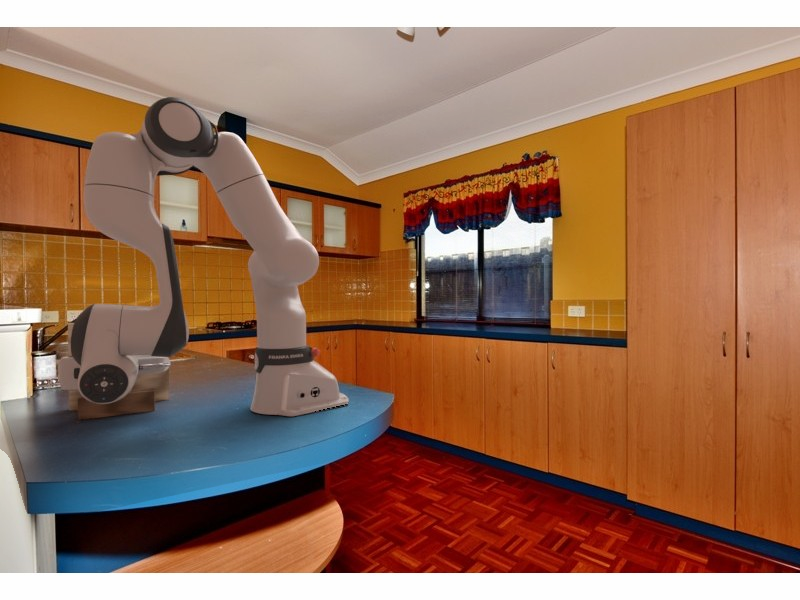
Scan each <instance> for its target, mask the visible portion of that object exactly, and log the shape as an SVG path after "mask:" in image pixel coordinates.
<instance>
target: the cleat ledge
mask: <svg viewBox="0 0 800 600" xmlns="http://www.w3.org/2000/svg"><path fill="white" fill-rule="evenodd" d="M155 410H156V401H155V389H151V390H141V391H131V392H130V393H128V394H127V395H126V396H125V397H123V398H122V399H120V400H118V401H115V402H112V403H109V404H97V403H93V402H90V401H88V400H86V399H85V398H84V397H82V398H78V410H77V420H78V421H82V420H81V419H83V420H90V418H91V419H97V418H105V417H107V418H108V417H115V416H120V415H121V416H122V415H123V416H124V415H130V414H131V415H132V414H138V413H146V412H147V413H148V412H154V411H155Z"/></svg>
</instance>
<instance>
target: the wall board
mask: <svg viewBox="0 0 800 600" xmlns="http://www.w3.org/2000/svg"><path fill="white" fill-rule="evenodd" d="M74 323H75V322H69V323H67V342H68V343H67V345H68V346H67V349H68V351H67V353H68V356H72V354H71V335H72V329H73V326H74ZM151 389H155V402H159V401H168V400H170V367H169V368H168V369H167V370H166V371H164V372H160V373H151V374H139V375H137V378H136V381H135V384H134V386H133V388H132V390H131V391H141V390H151ZM82 397H83V396H82V395H81V394H80V392H79V390H68V410H69V412H70V411H78V398H82Z"/></svg>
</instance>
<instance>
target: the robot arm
mask: <svg viewBox="0 0 800 600" xmlns="http://www.w3.org/2000/svg"><path fill="white" fill-rule="evenodd" d="M193 167H194V168H197V169H198V170H200V171H201V172H202V173H203V174H204V175H205V176H206V178H207V179H208V180H209V182H210V183H211V185H212V188H213V190H214V192H215V194H216V196H217V198H218V200H219V201H220V203H221V205H222V207H223V209H224V211H225V213H226V214H227V216H228V218H229V220H230V222H231V225H232V226H233V227H234V229H236V231H238V232H239V233H240V234H241V236H242V237H243V238H244V240H246V241H247V243H248V245H249V246H250V247H251V249H253V252H252V253H251V254H250V257H249V259H248V262H247V269H248V273H249V276H250V279H251V280H250V281H251V287H252V294H253V298H254V304H255V312H256V339H257V341H256V342H257V343H256V347H255V351H254V352H255V353H254V369H255V372H256V376H255V377H256V378H255V384H254V385H255V386H254V390H253V391H254V392H253V396H252V402H251V404H250V407H249V408H250V411H251V412H253V413H256V414H262V415H275V416H277V415H278V416H283V417H284V416H285V417H295V416H302V415H305V414H312V413H316V412H320V411H319V410H321V411H324V410H323V409H325V410H328V409H327V408H330V409H332V408H331V407H335V408H337V407H336V406H340V405H344V406H346V405H345V404H348V405H349V403H348V402H350V400H349V398H348V396H347V395H345V394H344V393H343V392H340V388H339V384H338V383H339V382H338V379H337V378H336V376H335V375H334V374H333V373H332V372H330V371H329V370H327V369H326V368H325V367H323V365H321V364H319V363H318V362H317V361H315V360H314V359H315V358H318V357H320V355H321V353H322V351H321V349H320V348H319V347H318V348H317V347H311V346H309V345H307V314H306V311H305V308H304V306H303V303H302V300H301V297H300V292H299V288H298V287H299V286H300V285H303V284H304V283H306V282H308V281H309V280H311V279H312V278H313V277H314V276H315V275H316V274H317V272H318V268H319V266H320V258H319V257H320V256H319V253H318V250H317V249H316V248H315V246H314V245H313V244H312V243H311V242H310V241H308V240H307V239H306V238H304V237H303V235H301V233H300V232H299V230H298V229H297V228H296V226H295V225H294V223H292V222H291V220H290V219H289V217H288V216H287V214H286V212H284V210H283V208H282V207H281V205H280V204H279V202H278V200H277V198H276V195H275V194H274V192H273V190H272V188H271V186H270V184H269V182H268V179H267V178H266V176H265V173H264V172H263V170H262V169H261V168H262V167H261V165H259V163H258V161H257V159H256V158H255V156H254V154H253V153H252V151H251V150H250V149H249V147H248V146H247V144H246V143H245V141H244V140H243V139H242V137H240V136H239V135H238V134H236V133H234V132H229V131H218V129H217V126H216V125H215V124H214V123H213V122H212V121H210V119H208V118H207V117H206V116H205V115H204V114H203V113H202V111H201V110H200V109H199V108H197V107H196V105H194V104H193V103H191V102H189V101H188V100H186V99H183V98H181V97H176V96H168V97H167V96H166V97H163V98H160V99H158V100H156V101H155V102H154V103H152V104H151V105H150V106H149V108H148V109H147V111H146V113H145V116H144V119H143V122H142V124H141V129H140V131H138V132H137V133H133V134H132V133H131V134H127V133H124V132H121V131H111V132H110V131H109V132H104V133H101V134H99V135H98V136H96V138H95V139H94V141H93V143H92V146H91V149H90V153H89V156H88V159H87V164H86V170H85V175H84V184H83V185H84V187H83V207H84V215H85V217H86V218H87V220H88V221H89V223H90V224H91V225H92V226H93V227H94V228H95V229H96V230H97V231H99V232H100V233H101V234H103V235H105V236H107V237H108V238H110V239H113V240H115V241H117V242H119V243H122V244H124V245H126V246H129V247H130V248H133V249H136V250H137V251H139V252H141V253H143V254H144V255H146V256H147V257H148V258H149V259H150V260H151V261H152V263H153V265H154V268H155V273H156V281H157V289H158V295H159V302H158V304H157V305H153V306H152V305H150V306H149V305H129V304H128V305H127V304H126V305H125V304H117V303H116V304H115V303H114V304H109V303H93V304H91V305H89V306H88V307H86V308H85V309H84V310H82V311H81V312H80V313H79V314H78V316H77V317H76V319H75V320H74V322H73V323H74V326H73V329H72V335H71V354H72V356H63V357H60V359H58V360H57V382H58V383H59V385H60V389H61V390H63V391H67V390H68V391H69V390H79V392H80V394H81V395H82V396H83V397H84V398H85V399H86V400H88V401H90V402H93V403H97V404H109V403H112V402H115V401H118V400H120V399H122V398H123V397H125V396H126V395H127V394H128V393H129V392H130V390H131V389H132V388H133V386H134V384H135V381H136V378H137V375H139V374H151V373H160V372H164V371H166V370H167V369H168V368H169V369H170V367H171V366H172V361H170V358H171V357H173V356H175V355H176V354H178V353H179V352H181V351H182V350H183V349H185V347H187V343H188V341H189V336H190V326H189V322H188V318H187V314H186V312H185V309H184V305H183V303H184V302H183V295H182V288H181V287H182V286H181V280H180V274H179V273H180V272H179V266H178V259H177V254H176V248H175V241H174V238H173V234H172V231H171V229H170V227H169V226H168V225H166V224H164V223H163V222H162V221H161V220H160V218H159V216H158V214H157V211H156V208H155V185H156V180H157V177H159V176H176V175H177V176H178V175H181V174H184V173H186V172H188V171H189V170H191V169H192V168H193ZM340 407H341V406H340ZM315 411H316V412H315Z"/></svg>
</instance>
